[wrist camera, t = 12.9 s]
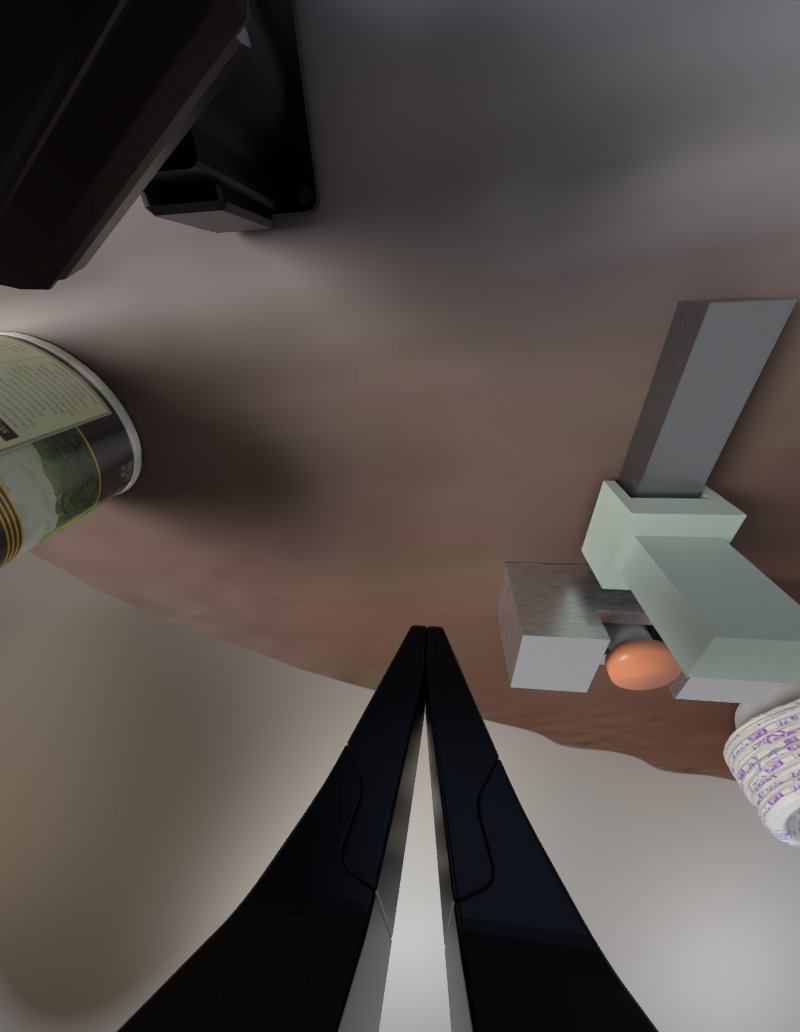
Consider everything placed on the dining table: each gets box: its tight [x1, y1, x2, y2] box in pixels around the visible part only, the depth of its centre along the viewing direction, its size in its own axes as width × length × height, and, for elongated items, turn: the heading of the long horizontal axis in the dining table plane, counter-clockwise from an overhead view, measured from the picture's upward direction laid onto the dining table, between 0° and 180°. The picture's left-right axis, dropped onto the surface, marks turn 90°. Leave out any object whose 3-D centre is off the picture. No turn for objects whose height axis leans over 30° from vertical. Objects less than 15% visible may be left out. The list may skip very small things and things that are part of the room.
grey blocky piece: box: [497, 562, 780, 704], centre depth 22 cm, size 5×14×6 cm, turn 93°
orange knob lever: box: [603, 623, 682, 690], centre depth 21 cm, size 4×4×5 cm
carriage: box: [581, 481, 800, 684], centre depth 16 cm, size 5×5×9 cm
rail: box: [617, 298, 797, 499], centre depth 18 cm, size 14×3×2 cm, turn 3°
